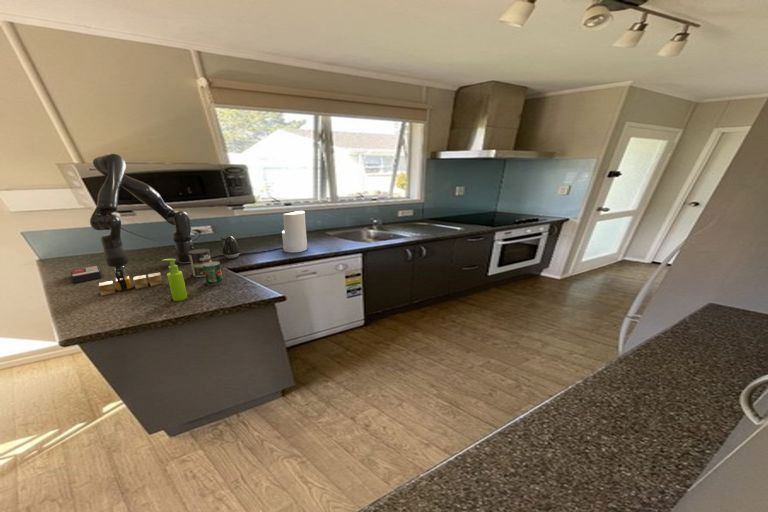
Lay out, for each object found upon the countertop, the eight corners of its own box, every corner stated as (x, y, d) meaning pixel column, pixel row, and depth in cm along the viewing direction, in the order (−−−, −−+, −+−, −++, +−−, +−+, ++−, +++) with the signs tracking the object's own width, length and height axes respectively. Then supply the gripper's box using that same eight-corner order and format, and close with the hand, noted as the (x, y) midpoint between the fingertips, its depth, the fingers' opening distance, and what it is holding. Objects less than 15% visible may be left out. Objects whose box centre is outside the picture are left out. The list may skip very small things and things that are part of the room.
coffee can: (217, 271, 170) (213, 249, 166) (201, 278, 161) (197, 254, 156) (204, 269, 173) (200, 247, 169) (188, 275, 164) (183, 252, 160)
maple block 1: (115, 289, 145) (112, 280, 144) (114, 292, 142) (112, 283, 140) (102, 292, 142) (99, 282, 141) (101, 295, 139) (98, 286, 137)
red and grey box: (97, 265, 167) (99, 270, 157) (99, 271, 169) (101, 277, 159) (70, 269, 160) (70, 275, 150) (73, 276, 161) (73, 283, 151)
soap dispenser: (175, 295, 140) (166, 257, 134) (190, 295, 140) (181, 257, 134) (167, 301, 134) (157, 261, 128) (183, 300, 135) (174, 261, 129)
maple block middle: (148, 283, 153) (145, 274, 151) (148, 286, 149) (145, 277, 148) (136, 285, 150) (133, 276, 148) (135, 288, 146) (133, 279, 145)
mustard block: (131, 284, 149) (129, 276, 147) (131, 288, 145) (128, 279, 144) (118, 287, 146) (116, 278, 144) (118, 290, 142) (115, 281, 141)
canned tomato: (204, 282, 156) (201, 263, 152) (220, 278, 161) (217, 260, 158) (208, 286, 150) (205, 267, 147) (225, 282, 156) (221, 263, 152)
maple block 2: (162, 280, 157) (159, 272, 155) (162, 283, 153) (160, 275, 151) (150, 282, 154) (148, 274, 152) (150, 286, 150) (148, 277, 148)
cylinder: (312, 248, 219) (309, 212, 210) (294, 253, 205) (291, 215, 196) (296, 244, 228) (293, 209, 219) (278, 249, 214) (274, 212, 205)
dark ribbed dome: (225, 255, 198) (221, 234, 194) (241, 254, 201) (238, 233, 197) (222, 260, 189) (218, 238, 184) (239, 259, 192) (236, 237, 187)
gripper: (125, 257, 137) (134, 290, 142) (126, 250, 148) (134, 280, 153) (103, 260, 133) (113, 293, 138) (106, 253, 143) (116, 284, 148)
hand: (124, 286), depth 145 cm, fingers closed on mustard block, 5 cm apart
